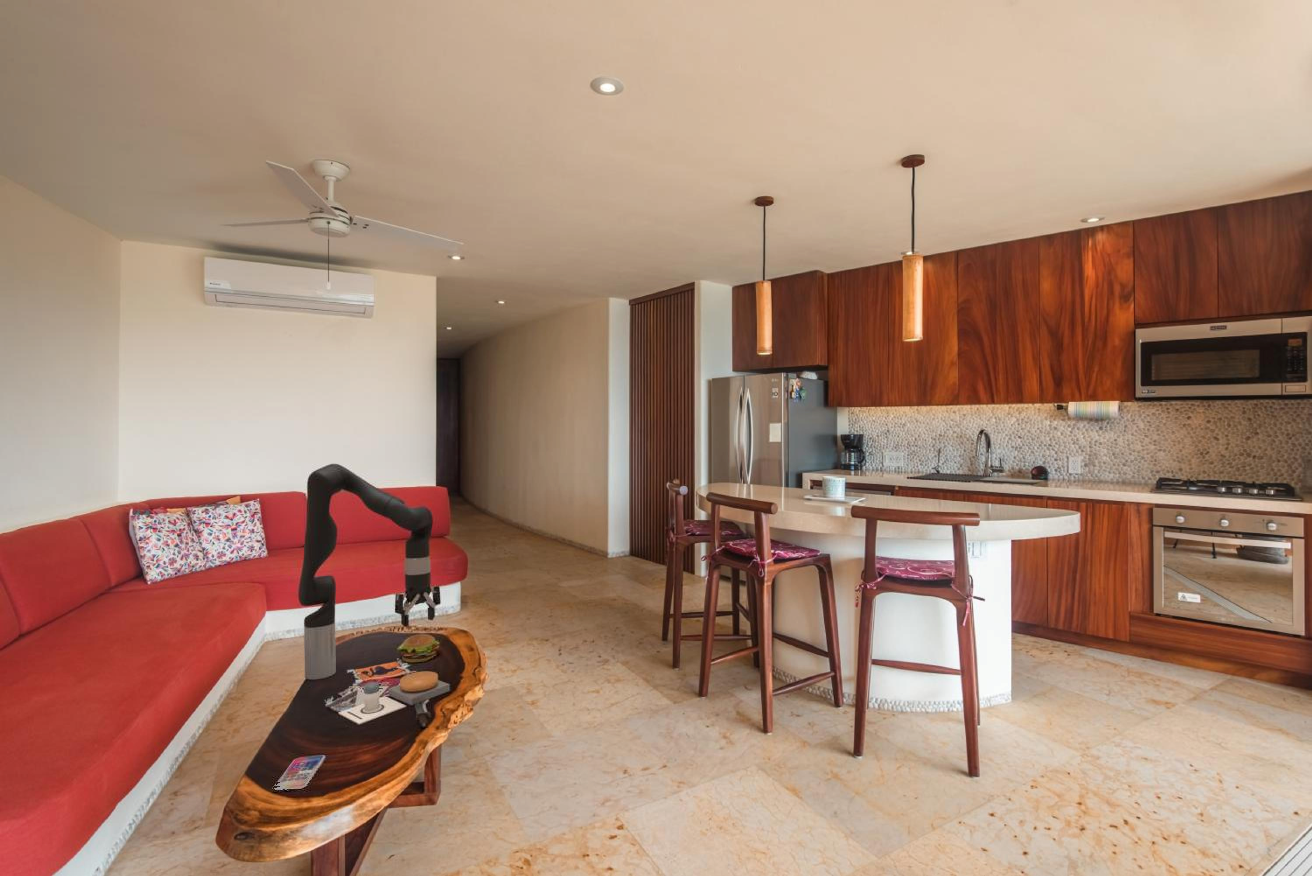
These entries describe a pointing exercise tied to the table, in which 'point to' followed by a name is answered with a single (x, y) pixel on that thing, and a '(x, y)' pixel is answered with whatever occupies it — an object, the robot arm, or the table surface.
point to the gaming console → (361, 694)
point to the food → (419, 648)
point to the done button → (418, 681)
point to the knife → (422, 713)
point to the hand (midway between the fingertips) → (418, 623)
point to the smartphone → (300, 772)
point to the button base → (418, 693)
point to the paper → (362, 716)
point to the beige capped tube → (371, 696)
